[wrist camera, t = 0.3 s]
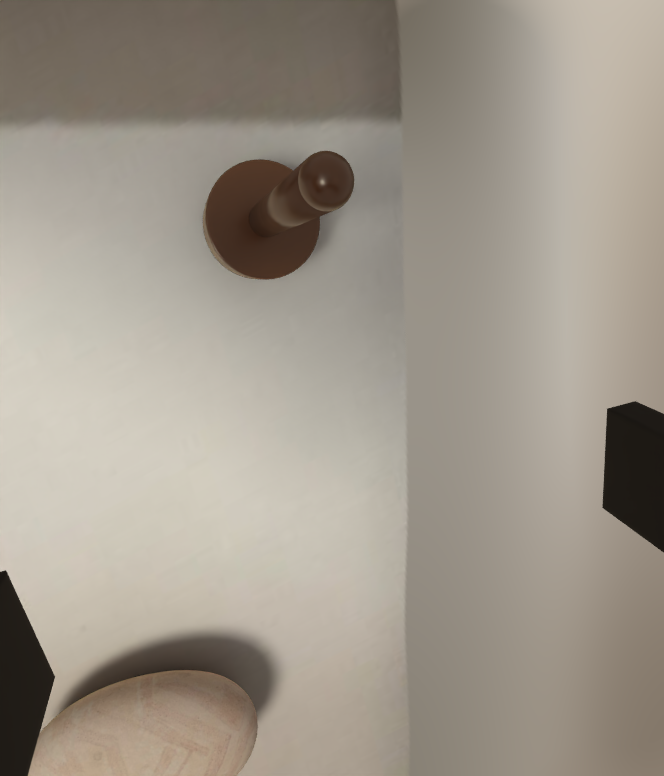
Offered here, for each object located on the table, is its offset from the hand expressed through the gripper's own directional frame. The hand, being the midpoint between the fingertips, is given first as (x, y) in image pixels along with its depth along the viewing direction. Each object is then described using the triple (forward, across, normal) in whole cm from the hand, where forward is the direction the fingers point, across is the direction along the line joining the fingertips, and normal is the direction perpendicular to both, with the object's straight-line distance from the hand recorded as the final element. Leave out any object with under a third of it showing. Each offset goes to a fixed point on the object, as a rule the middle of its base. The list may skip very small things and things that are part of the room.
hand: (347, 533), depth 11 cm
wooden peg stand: (+20, +2, +5) cm, 21 cm away
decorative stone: (+17, -11, -22) cm, 30 cm away
